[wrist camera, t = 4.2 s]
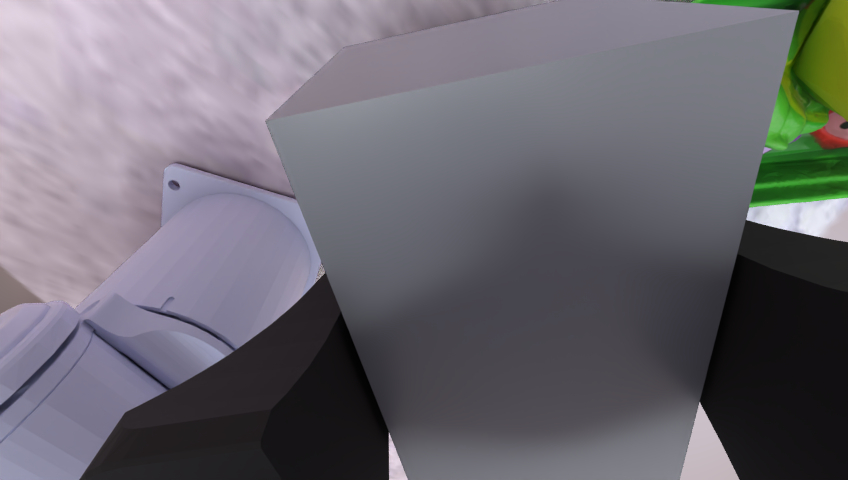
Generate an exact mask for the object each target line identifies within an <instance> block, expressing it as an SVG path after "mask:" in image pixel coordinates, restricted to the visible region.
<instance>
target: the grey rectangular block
mask: <svg viewBox="0 0 848 480" xmlns="http://www.w3.org/2000/svg"><path fill="white" fill-rule="evenodd" d="M798 14H799V11H796V10H782V9H769V8H755V7H741V6H728V5H714V4H700V3H687V2H673V1H659V0H558V1H553V2H548V3H544V4H539V5H535V6H530V7H526V8H521V9H516V10H512V11H507V12H503V13H498V14H493V15H489V16H484V17H480V18H475V19H471V20H466V21H461V22H457V23H452V24H448V25H443V26H438V27H434V28H429V29H425V30H420V31H416V32H411V33H406V34H402V35H397V36H393V37H388V38H383V39H379V40H374V41H370V42H365V43H361V44H356V45H351V46H347V47H344V48H343V49H342V50H340V51H339V52H338V53H337V54H336V55H335V56H334V57H333V58H332V59H331V60H330V61H329V62H328V63H327V64H326V65H324V66H323V67H322V68H321V69H320V70H319V71H318V72H317V73H316V74H315V75H314V76H313V77H312V78H311V79H310V80H308V81H307V82H306V83H305V84H304V85H303V86H302V87H301V88H300V89H299V90H298V91H297V92H296V93H295V94H294V95H292V96H291V97H290V98H289V99H288V100H287V101H286V102H285V103H284V104H283V105H282V106H281V107H280V108H279V109H278V110H276V111H275V112H274V113H273V114H272V115H271V116H270V117H269V118H268V119H267V120H266V124H267V127H268V129H269V132H270V134H271V137H272V139H273V142H274V144H275V147H276V149H277V152H278V154H279V157H280V159H281V162H282V164H283V167H284V169H285V172H286V174H287V177H288V179H289V182H290V184H291V187H292V189H293V192H294V194H295V197H296V199H297V202H298V204H299V207H300V209H301V212H302V214H303V217H304V219H305V222H306V224H307V227H308V230H309V232H310V235H311V237H312V240H313V242H314V245H315V247H316V250H317V252H318V255H319V257H320V260H321V262H322V265H323V267H324V270H325V272H326V275H327V277H328V280H329V282H330V285H331V287H332V290H333V292H334V295H335V297H336V300H337V302H338V305H339V307H340V310H341V312H342V315H343V317H344V320H345V322H346V325H347V327H348V330H349V332H350V335H351V338H352V340H353V343H354V345H355V348H356V350H357V353H358V355H359V358H360V360H361V363H362V365H363V368H364V370H365V373H366V375H367V378H368V380H369V383H370V385H371V388H372V390H373V393H374V395H375V398H376V400H377V403H378V405H379V408H380V410H381V413H382V415H383V418H384V420H385V423H386V425H387V428H388V430H389V433H390V435H391V438H392V441H393V443H394V446H395V448H396V451H397V453H398V456H399V458H400V461H401V463H402V466H403V468H404V471H405V473H406V476H407V478H408V480H680V476H681V472H682V468H683V464H684V460H685V456H686V452H687V448H688V445H689V441H690V437H691V433H692V429H693V425H694V421H695V417H696V413H697V409H698V405H699V402H700V398H701V394H702V390H703V386H704V382H705V378H706V374H707V370H708V366H709V362H710V358H711V355H712V351H713V347H714V343H715V339H716V335H717V331H718V327H719V323H720V319H721V315H722V311H723V307H724V304H725V300H726V296H727V292H728V288H729V284H730V280H731V276H732V272H733V268H734V264H735V260H736V257H737V253H738V249H739V245H740V241H741V237H742V233H743V229H744V225H745V221H746V217H747V213H748V210H749V206H750V202H751V198H752V194H753V190H754V186H755V182H756V178H757V174H758V170H759V166H760V163H761V159H762V155H763V151H764V147H765V143H766V139H767V135H768V131H769V127H770V123H771V119H772V115H773V112H774V108H775V104H776V100H777V96H778V92H779V88H780V84H781V80H782V76H783V72H784V68H785V65H786V61H787V57H788V53H789V49H790V45H791V41H792V37H793V33H794V29H795V25H796V21H797V18H798Z"/></svg>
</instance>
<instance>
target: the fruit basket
mask: <svg viewBox="0 0 848 480" xmlns="http://www.w3.org/2000/svg"><path fill="white" fill-rule="evenodd" d="M690 3H700V4H714V5H728V6H741V7H755V8H769V9H782V10H796V11H799V14H798V18H797V21H796V25H795V29H794V33H793V37H792V41H791V45H790V49H789V53H788V57H787V61H786V65H785V68H784V72H783V76H782V80H781V84H780V88H779V92H778V96H777V100H776V104H775V108H774V112H773V115H772V119H771V123H770V127H769V131H768V135H767V139H766V143H765V147H764V151H763V155H762V159H761V163H760V166H759V170H758V174H757V178H756V182H755V186H754V190H753V194H752V198H751V202H750V206H749V207H757V206H768V205H778V204H789V203H799V202H811V201H819V200H827V199H839V198H848V0H693V1H692V2H690Z"/></svg>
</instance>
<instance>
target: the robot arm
mask: <svg viewBox="0 0 848 480" xmlns="http://www.w3.org/2000/svg"><path fill="white" fill-rule="evenodd" d="M172 180H174V181H176V182H178V183H179V185H180V187H177V186H175V185H174V184H173V182H172ZM320 265H321V260H320V257H319V255H318V252H317V250H316V247H315V245H314V242H313V240H312V237H311V235H310V232H309V230H308V227H307V224H306V222H305V219H304V217H303V214H302V212H301V209H300V207H299V204H298V202H297V200H296V199H293V198H290V197H286V196H283V195H280V194H276V193H273V192H270V191H267V190H263V189H260V188H257V187H253V186H250V185H247V184H244V183H240V182H237V181H234V180H230V179H227V178H224V177H221V176H217V175H214V174H211V173H207V172H204V171H201V170H198V169H194V168H191V167H188V166H184V165H181V164H176V163H173V164H170V165H169V166H167V167H166V168H165V170H164V177H163V197H162V217H161V228H160V229H159V230H158V231H157V232H156V233H155V234H154V235H153V236H152V237H151V238H150V239H149V240H148V241H147V242H146V243H144V244H143V245H142V246H141V247H140V248H139V249H138V250H137V251H136V252H135V253H134V254H133V255H132V256H131V257H129V258H128V259H127V260H126V261H125V262H124V263H123V264H122V265H121V266H120V267H119V268H118V269H117V270H116V271H115V272H113V273H112V274H111V275H110V276H109V277H108V278H107V279H106V280H105V281H104V282H103V283H102V284H101V285H100V286H98V287H97V288H96V289H95V290H94V291H93V292H92V293H91V294H90V295H89V296H88V297H87V298H86V299H85V300H84V301H82V302H81V303H80V304H79V305H78V306H77V307H76V308H75V309H73V308H72V307H71V306H70V305H69V304H68V303H66V302H64V301H51V302H49V303H46V304H45V303H29V304H28V303H26V304H20V305H17V306H15V307H13V308H11V309H9V310H7V311H5V312H3V313H1V314H0V480H389V430H388V428H387V425H386V423H385V420H384V418H383V415H382V413H381V410H380V408H379V405H378V403H377V400H376V398H375V395H374V393H373V390H372V388H371V385H370V383H369V380H368V378H367V375H366V373H365V370H364V368H363V365H362V363H361V360H360V358H359V355H358V353H357V350H356V348H355V345H354V343H353V340H352V338H351V335H350V332H349V330H348V327H347V325H346V322H345V320H344V317H343V315H342V312H341V310H340V307H339V305H338V302H337V300H336V297H335V295H334V292H333V290H332V287H331V285H330V282H329V280H328V277H327V275H326V273H325V274H324V275H323V276H322V277H321V278H320V279H319V280H318V281H317V282H316V279H317V275H318V272H319V268H320ZM315 282H316V283H315ZM700 403H701V405H702V407H703V409H704V411H705V412H706V414H707V416H708V418H709V420H710V422H711V424H712V426H713V428H714V430H715V431H716V433H717V435H718V437H719V439H720V441H721V443H722V445H723V447H724V449H725V451H726V453H727V455H728V457H729V459H730V461H731V463H732V465H733V467H734V469H735V471H736V473H737V475H738V477H739V479H740V480H848V242H843V241H837V240H831V239H826V238H820V237H815V236H811V235H806V234H801V233H797V232H792V231H787V230H783V229H778V228H774V227H770V226H766V225H762V224H758V223H755V222H751V221H748V220H746V221H745V225H744V229H743V233H742V237H741V241H740V245H739V249H738V253H737V257H736V260H735V264H734V268H733V272H732V276H731V280H730V284H729V288H728V292H727V296H726V300H725V304H724V307H723V311H722V315H721V319H720V323H719V327H718V331H717V335H716V339H715V343H714V347H713V351H712V355H711V358H710V362H709V366H708V370H707V374H706V378H705V382H704V386H703V390H702V394H701V398H700Z"/></svg>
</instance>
